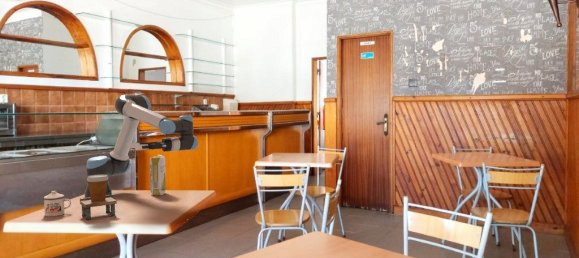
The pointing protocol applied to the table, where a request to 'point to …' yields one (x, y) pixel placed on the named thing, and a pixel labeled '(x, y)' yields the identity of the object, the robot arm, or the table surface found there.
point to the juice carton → (157, 175)
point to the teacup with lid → (54, 204)
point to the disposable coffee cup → (97, 187)
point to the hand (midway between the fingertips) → (130, 146)
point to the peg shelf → (88, 204)
